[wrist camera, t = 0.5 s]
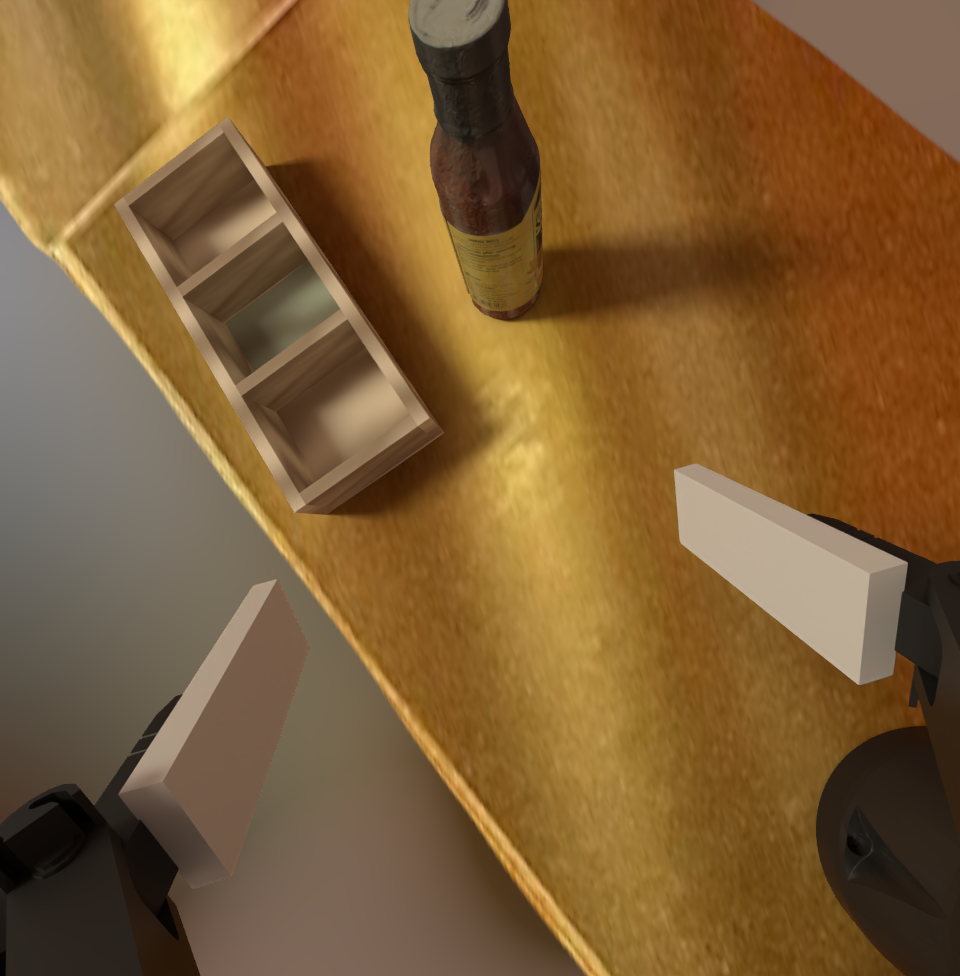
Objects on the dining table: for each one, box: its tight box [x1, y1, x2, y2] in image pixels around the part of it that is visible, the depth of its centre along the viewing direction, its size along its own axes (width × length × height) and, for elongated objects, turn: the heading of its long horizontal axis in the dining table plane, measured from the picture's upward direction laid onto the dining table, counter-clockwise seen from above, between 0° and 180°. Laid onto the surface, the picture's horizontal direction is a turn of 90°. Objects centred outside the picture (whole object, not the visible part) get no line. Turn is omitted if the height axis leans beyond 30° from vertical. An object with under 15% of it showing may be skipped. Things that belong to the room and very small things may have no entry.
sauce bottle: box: [409, 0, 543, 319], centre depth 27 cm, size 6×6×20 cm
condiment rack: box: [114, 116, 444, 515], centre depth 36 cm, size 31×12×5 cm, turn 34°
